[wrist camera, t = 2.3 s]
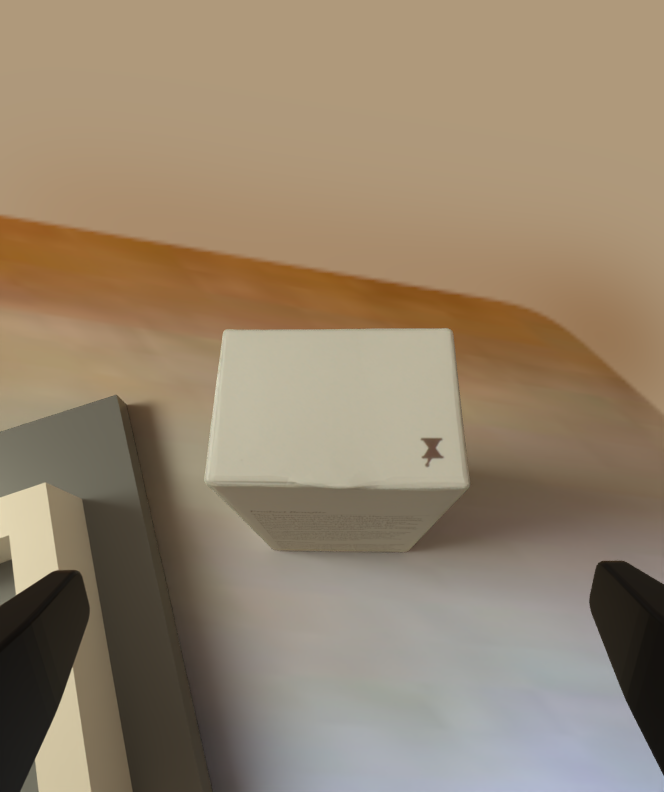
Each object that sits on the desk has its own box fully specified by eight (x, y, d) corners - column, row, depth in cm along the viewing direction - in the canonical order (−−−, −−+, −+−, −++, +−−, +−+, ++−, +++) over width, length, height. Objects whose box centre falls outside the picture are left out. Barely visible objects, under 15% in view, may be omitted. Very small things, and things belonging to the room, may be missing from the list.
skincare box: (404, 457, 24) (462, 323, 13) (408, 553, 22) (478, 494, 11) (273, 456, 24) (218, 322, 13) (267, 552, 22) (199, 491, 11)
